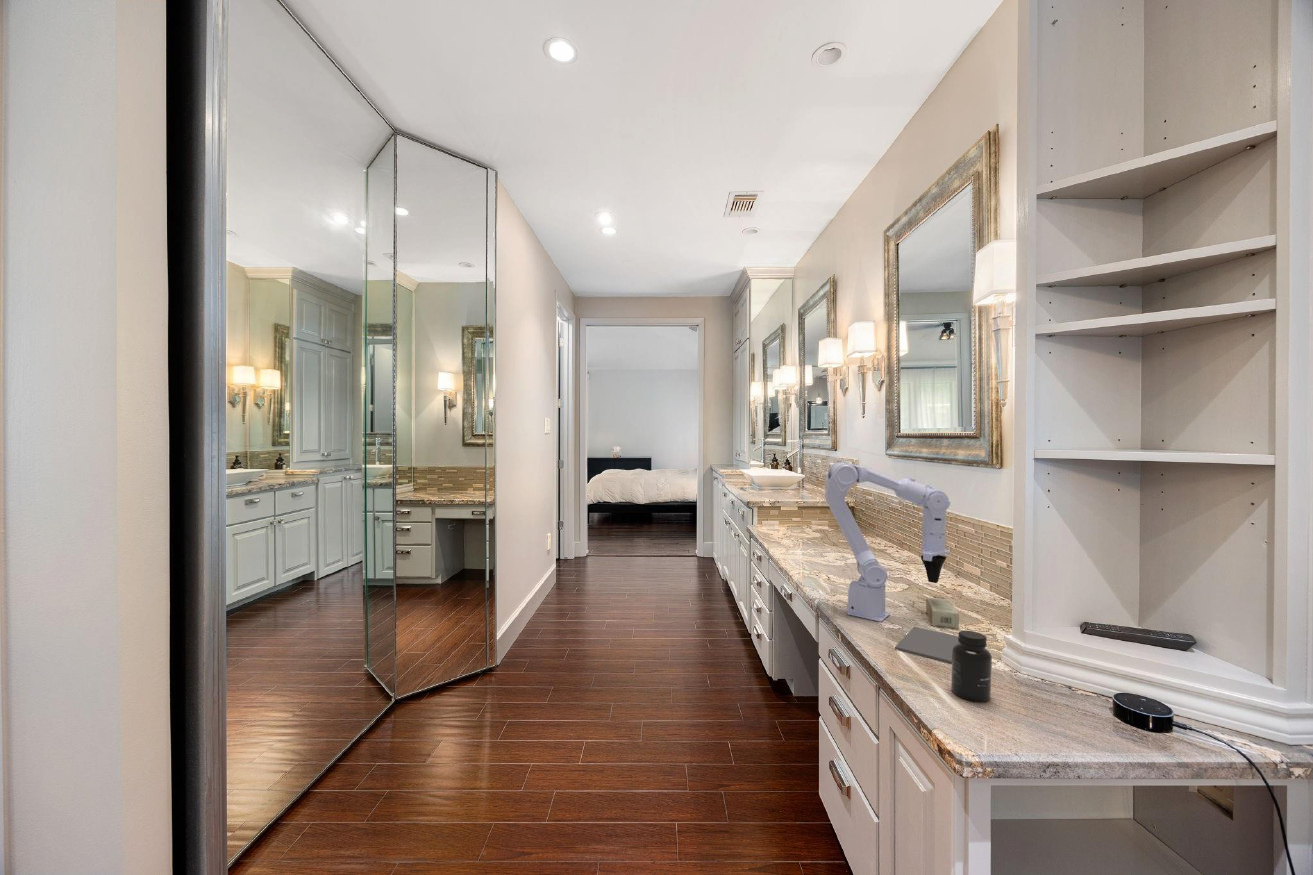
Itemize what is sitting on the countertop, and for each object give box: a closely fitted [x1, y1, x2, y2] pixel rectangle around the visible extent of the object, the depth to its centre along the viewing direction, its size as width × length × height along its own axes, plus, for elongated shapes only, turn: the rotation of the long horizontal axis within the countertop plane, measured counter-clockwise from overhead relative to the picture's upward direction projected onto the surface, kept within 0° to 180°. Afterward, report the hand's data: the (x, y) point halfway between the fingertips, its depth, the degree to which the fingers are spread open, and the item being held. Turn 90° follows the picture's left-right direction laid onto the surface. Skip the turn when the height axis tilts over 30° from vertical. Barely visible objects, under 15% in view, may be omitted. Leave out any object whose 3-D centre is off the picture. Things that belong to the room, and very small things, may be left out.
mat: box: [894, 626, 959, 665], centre depth 131 cm, size 14×17×1 cm
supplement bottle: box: [950, 629, 993, 703], centre depth 108 cm, size 7×7×12 cm
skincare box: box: [925, 596, 960, 630], centre depth 149 cm, size 6×4×12 cm
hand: (933, 582), depth 149 cm, fingers closed
